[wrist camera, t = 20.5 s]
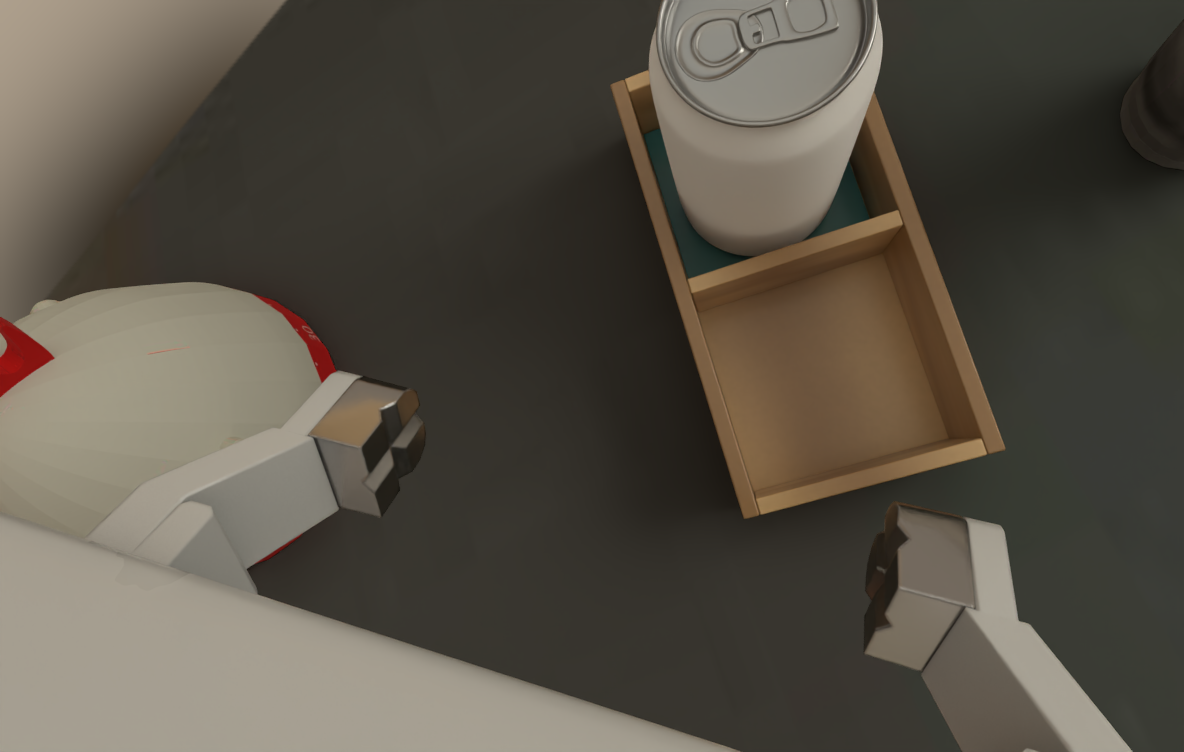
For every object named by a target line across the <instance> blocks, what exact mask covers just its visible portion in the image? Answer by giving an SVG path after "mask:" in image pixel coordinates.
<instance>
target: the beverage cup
mask: <svg viewBox="0 0 1184 752" xmlns="http://www.w3.org/2000/svg"><path fill="white" fill-rule="evenodd" d="M1120 119H1121V125H1122V131H1123V133H1124V135H1125V137H1126V138H1127V140H1128V142H1129V144H1130V146H1131V147H1132V148H1133V149H1134V150H1136V151H1137V152H1138V153H1139V154H1140V155H1141V156H1142V157H1144V158H1145V159H1147V160H1149V161H1151V162H1153V163H1156V164H1158V165H1160V166H1162V167H1167V168H1174V169H1181V170H1184V20H1183V21H1182V22H1181V23H1180V24H1179V26H1178V27H1177V28H1176V29H1175V30H1174V31H1173V33H1172V34H1171V35H1170V36H1169V37H1168V38H1167V40H1166V41H1165V42H1164V43H1163V44H1162V46H1161V47H1160V48H1159V49H1158V50H1157V51H1156V53H1155V54H1154V55H1153V56H1152V57H1151V59H1150V60H1149V62H1148V63H1147V65H1146V66H1145V68H1144V70H1143V71H1142V73H1141V74H1140V76H1139V77H1138V78H1137V79H1136V80H1134V81H1133V83H1132V84H1131V86H1130V88H1129V89H1128V91H1127V92H1126V94H1125V95H1124V97H1123V102H1122V106H1121V111H1120Z"/></svg>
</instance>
